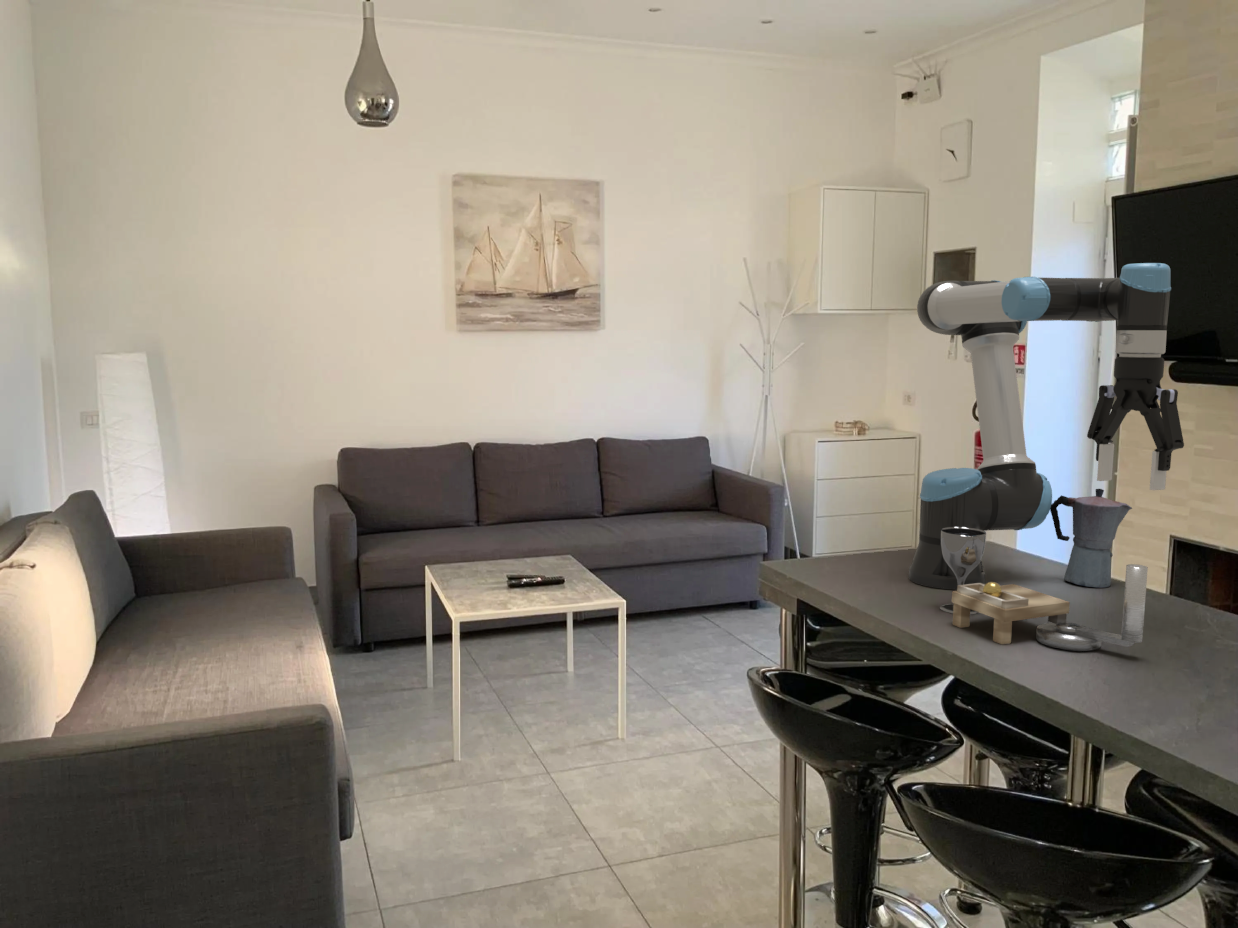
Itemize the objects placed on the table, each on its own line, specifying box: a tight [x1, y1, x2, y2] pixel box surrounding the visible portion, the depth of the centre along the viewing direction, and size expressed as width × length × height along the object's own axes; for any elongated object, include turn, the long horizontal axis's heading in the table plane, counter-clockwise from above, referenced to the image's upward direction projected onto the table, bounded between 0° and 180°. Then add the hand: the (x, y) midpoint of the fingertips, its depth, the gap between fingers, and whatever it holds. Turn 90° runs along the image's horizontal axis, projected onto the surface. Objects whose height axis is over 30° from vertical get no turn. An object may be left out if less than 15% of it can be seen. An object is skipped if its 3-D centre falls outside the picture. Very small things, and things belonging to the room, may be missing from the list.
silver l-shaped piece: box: [1035, 563, 1149, 652], centre depth 163 cm, size 16×10×15 cm, turn 42°
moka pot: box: [1049, 488, 1133, 589], centre depth 205 cm, size 10×15×20 cm, turn 78°
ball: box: [983, 581, 1001, 598], centre depth 171 cm, size 3×3×3 cm
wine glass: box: [939, 527, 987, 616], centre depth 185 cm, size 8×8×15 cm
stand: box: [951, 583, 1071, 645], centre depth 173 cm, size 13×14×7 cm
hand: (1130, 484), depth 171 cm, fingers open, 10 cm apart
